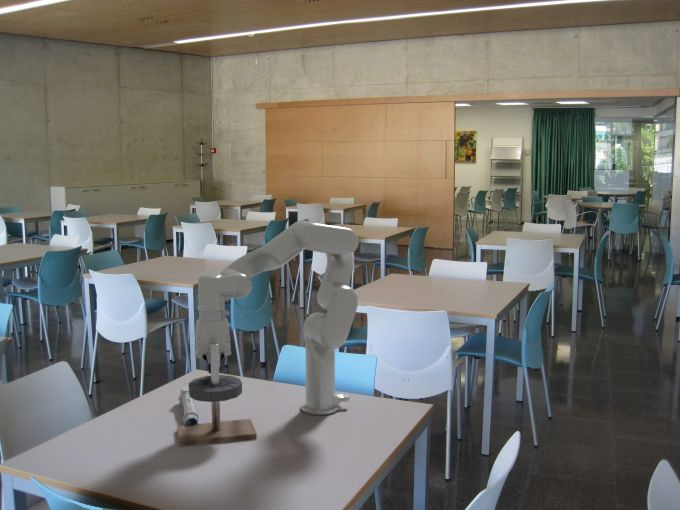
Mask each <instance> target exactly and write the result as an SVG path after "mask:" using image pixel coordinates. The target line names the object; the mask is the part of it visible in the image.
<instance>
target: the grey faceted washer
mask: <svg viewBox="0 0 680 510" xmlns="http://www.w3.org/2000/svg"><path fill="white" fill-rule="evenodd" d="M219 383H220V384H219V385H211V375H204V376H201V377H197V378H194V379H193V380H191V381H190V382H188V386H189V395H190V398H193V399H195V400H194V401H198V402H207V403H212V402H217V401H220V402H227V401H230V400H232V399H236V398H238V397H240V395H241V394H243V382H242V380H241V378H239V377H236V376H233V375H225V374H219Z"/></svg>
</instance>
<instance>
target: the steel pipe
mask: <svg viewBox="0 0 680 510" xmlns="http://www.w3.org/2000/svg"><path fill="white" fill-rule="evenodd" d="M210 353H211V373H210V376H211V385H219V384H220V383H219V375H220V362H219V344H218V343H211V344H210ZM220 422H221V401H217V402H211V423H212V431H220Z"/></svg>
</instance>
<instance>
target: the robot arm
mask: <svg viewBox="0 0 680 510" xmlns="http://www.w3.org/2000/svg"><path fill="white" fill-rule="evenodd" d="M359 243H360V240H359V236H358V234H357V233H356V232H355V231H354V230H353V229H351V228H348V227H343V226H339V225H333V224H331V225H328V224H322V223H317V222H311V221H307V220H298V221H296V222H293V223H292V224H291V225H290V226H289V227H287V228H286V229H285V230H283V231H281V232H280V233H279V234H278V235H276V236H275V237H273V238H272V239H271V240H269V241H268V242H267V243H266V244H263V245H262V246H260V247H258V248H256V249H253V250H252V251H250V252H248V253H246V254H244V255H242V256H240V257H239V258H237V259H236V260H234V261H232V263H230V264H228V266H226V267H225V268H224V269H222V271H220V273H213V272H212V273H203V274H201V275H199V277H198V280H197V286H198V287H197V288H198V291H197V292H198V294H197V295H198V318H197V320H196V322H195V331H194V333H195V334H194V336H195V337H194V343H195V344H194V347H195V352H194V355H195V356H194V357H195V358H196V359H203V361H204V360H205V362H207V365H208V367H207V368H208V370H207V371H208V374H211V353H210V344H211V343H218V344H219V363H220V362H221V361H222V360H223V358H224V357H227V356H231V355H232V350H231V336H230V335H231V334H230V327H229V320H228V318H227V316H230V315H231V313H230V310H228V309H225V304H226V303H225V298H227V299H242V298H245V297H247V296H248V295H249V294H251V292H252V290H253V283H252V280H251V278H253V277H255V276H257V275H259V274H261V273H264V272H269V271H274V270H277V269H280V268H283V266H285V265H286V264H288V263H289V262H290V261H292V259H294V258H296V257H297V256H298V255H299V254H301V253H302V252H303V251H305V250H308V251H312V252H317V253H324V254H325V255H326V258H327V259H326V268H325V271H324V273H323V277H322V280H321V281H320V282H321V283H320V285H319V288H318V292H317V295H316V302H317V304H318V305H319V306H320V307H321V308H322V309H324V310H326V313H323V312H313V313H311V314H309V315H308V316H307V317H306V318H305V320H304V322H303V326H302V333H303V341H304V349H305V401H303V402H302V403H301V404H300V410H301V411H302V412H304V413H306V414H309V415H314V416H315V415H317V416H319V415H320V416H323V415H331V414H334V413H336V412H337V411H340V408H341V407H340V403H347V402H349V401H350V396H349V395H344V394H341V393H340V394H336V381H335V380H336V377H335V376H336V352H335V350H337V349H339V348H341V347H342V346H343V345H344V344H345V342H346V340H347V339H348V336H349V335H350V331H351V328H352V325H353V322H354V319H355V315H356V314H357V313H356V312H357V310H358V305H359V299H358V294H357V293H356V291H355V289H353V288H352V287H350V286H349V285H350V282H351V278H352V273H353V269H354V259H353V258H354V257H353V253H354V252H355V251H357V249H358V247H359Z"/></svg>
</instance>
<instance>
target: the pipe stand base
mask: <svg viewBox="0 0 680 510" xmlns="http://www.w3.org/2000/svg"><path fill="white" fill-rule="evenodd" d="M176 432H177V439H178V446H179V447H180V448H181V447H187V446H199V445H207V444H218V443H225V442H226V443H227V442H235V441H245V440H254V438H256V439H257V438H258V435H257V434H258V433H257V431H256V428H255V426H254V424H253V422H252V419H251V418H244V419H235V420H234V419H233V420H226V421H220V431H212V422H204V423H198V424H193V425H185V424H184V425H183V424H182V425H177V426H176Z"/></svg>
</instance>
